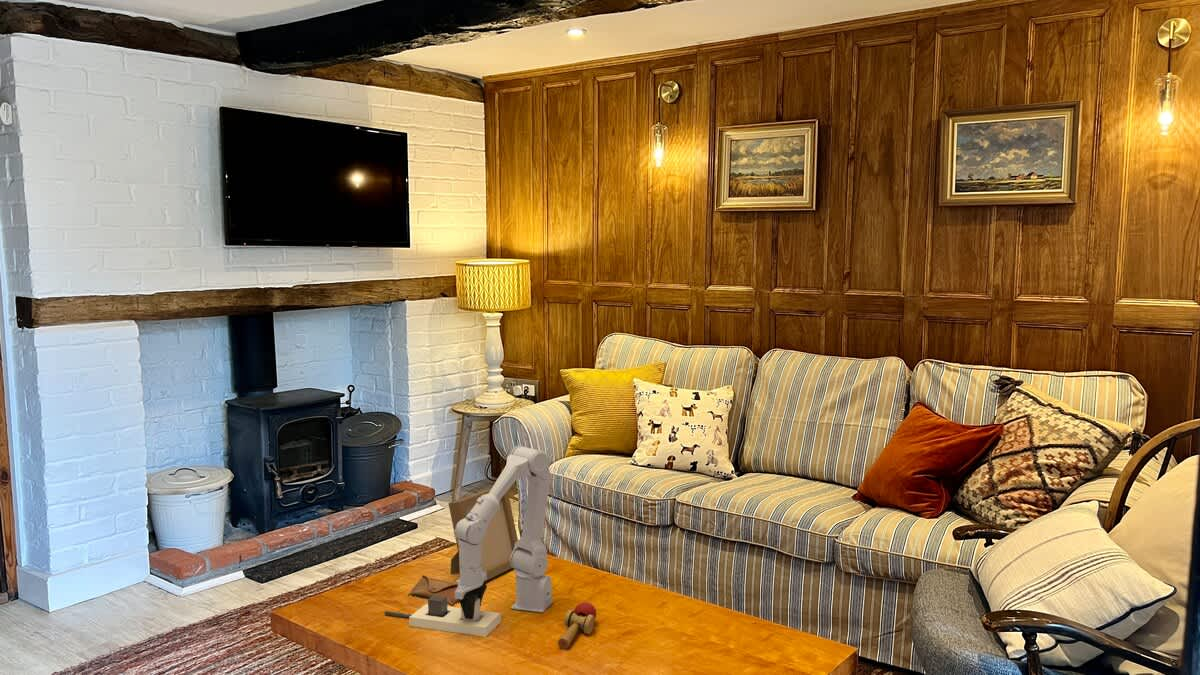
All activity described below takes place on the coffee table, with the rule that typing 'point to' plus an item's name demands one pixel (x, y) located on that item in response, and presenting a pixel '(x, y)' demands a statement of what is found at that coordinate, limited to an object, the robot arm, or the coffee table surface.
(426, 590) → the sunglasses case
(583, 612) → the kendama
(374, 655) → the coffee table surface
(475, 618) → the beige plug
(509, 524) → the photo frame
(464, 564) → the robot arm
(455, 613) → the power strip
